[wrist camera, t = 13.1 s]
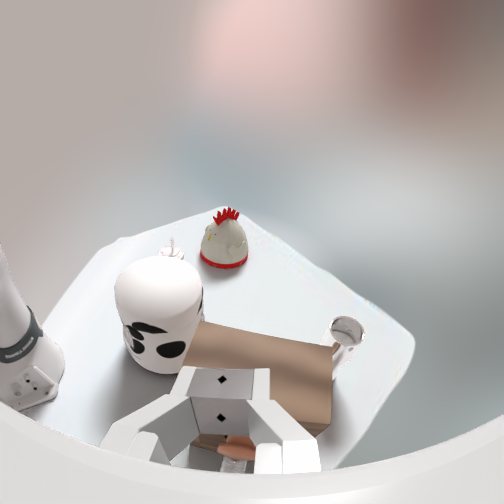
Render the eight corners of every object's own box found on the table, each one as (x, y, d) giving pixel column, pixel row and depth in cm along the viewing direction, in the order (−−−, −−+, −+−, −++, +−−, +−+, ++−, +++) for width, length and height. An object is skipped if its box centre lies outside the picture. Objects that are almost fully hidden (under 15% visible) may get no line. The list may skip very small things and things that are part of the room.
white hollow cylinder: (311, 355, 57) (333, 310, 48) (340, 365, 55) (367, 322, 46) (301, 380, 52) (324, 338, 43) (332, 391, 50) (362, 351, 41)
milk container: (218, 325, 61) (221, 264, 50) (193, 391, 47) (185, 339, 36) (149, 305, 63) (138, 244, 52) (115, 362, 49) (88, 304, 38)
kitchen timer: (192, 248, 83) (191, 203, 74) (229, 235, 90) (233, 193, 81) (217, 274, 75) (220, 227, 66) (257, 258, 82) (264, 213, 73)
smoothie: (189, 286, 70) (188, 241, 61) (166, 295, 66) (161, 249, 58) (179, 272, 74) (177, 227, 65) (157, 279, 70) (152, 234, 62)
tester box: (281, 463, 37) (330, 424, 23) (189, 444, 38) (170, 392, 24) (288, 415, 45) (332, 346, 31) (204, 398, 46) (200, 320, 32)
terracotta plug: (256, 462, 28) (261, 456, 25) (217, 454, 29) (217, 447, 26) (266, 409, 35) (272, 396, 32) (230, 402, 36) (232, 388, 33)
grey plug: (244, 492, 30) (247, 491, 27) (210, 485, 30) (210, 483, 27) (254, 447, 37) (258, 440, 34) (222, 441, 37) (223, 433, 34)
